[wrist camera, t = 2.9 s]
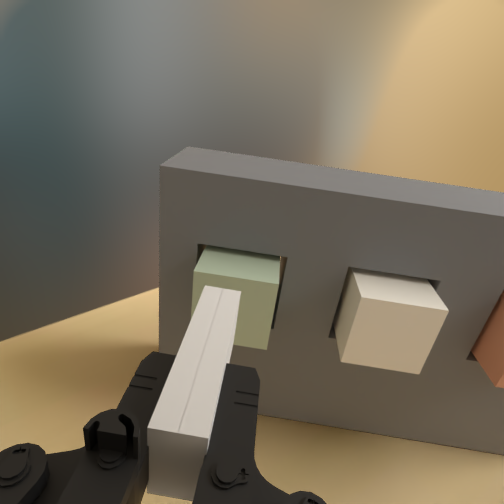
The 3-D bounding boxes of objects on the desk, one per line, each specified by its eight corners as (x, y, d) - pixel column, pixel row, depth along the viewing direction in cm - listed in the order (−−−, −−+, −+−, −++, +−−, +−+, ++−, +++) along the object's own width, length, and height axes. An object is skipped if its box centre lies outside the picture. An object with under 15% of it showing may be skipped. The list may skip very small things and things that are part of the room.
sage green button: (270, 297, 25) (280, 241, 23) (266, 350, 20) (278, 284, 18) (208, 288, 26) (213, 230, 23) (189, 337, 21) (193, 270, 19)
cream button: (393, 317, 25) (414, 261, 23) (419, 374, 20) (449, 310, 18) (330, 307, 25) (345, 251, 23) (340, 361, 20) (361, 297, 18)
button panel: (484, 394, 31) (597, 206, 23) (524, 458, 26) (690, 244, 18) (180, 344, 32) (188, 146, 24) (158, 397, 27) (159, 165, 19)
